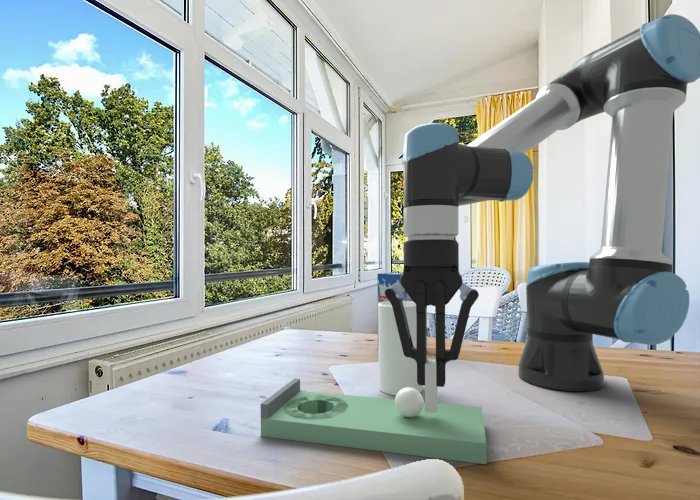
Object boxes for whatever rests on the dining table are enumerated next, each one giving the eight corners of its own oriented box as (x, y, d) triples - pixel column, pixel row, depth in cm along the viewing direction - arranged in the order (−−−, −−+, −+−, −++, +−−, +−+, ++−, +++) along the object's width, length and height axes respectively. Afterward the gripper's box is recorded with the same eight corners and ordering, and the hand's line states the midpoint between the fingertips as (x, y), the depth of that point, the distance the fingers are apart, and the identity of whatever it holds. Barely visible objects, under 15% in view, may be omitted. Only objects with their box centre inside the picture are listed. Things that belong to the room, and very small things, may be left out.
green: (481, 423, 60) (481, 393, 61) (486, 464, 49) (486, 426, 49) (294, 405, 68) (294, 378, 68) (260, 436, 57) (260, 404, 57)
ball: (417, 379, 59) (392, 388, 60) (415, 389, 55) (388, 398, 56) (428, 405, 59) (403, 413, 60) (427, 417, 55) (400, 426, 56)
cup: (412, 398, 71) (411, 307, 71) (371, 390, 75) (370, 304, 76) (429, 385, 78) (428, 302, 78) (390, 379, 82) (390, 300, 83)
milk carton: (377, 347, 110) (377, 273, 111) (392, 343, 115) (392, 272, 115) (406, 353, 103) (405, 274, 103) (421, 349, 107) (420, 273, 108)
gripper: (478, 239, 59) (479, 403, 58) (388, 240, 62) (389, 395, 62) (481, 237, 51) (482, 424, 51) (379, 238, 55) (380, 414, 54)
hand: (431, 408), depth 56 cm, fingers closed
